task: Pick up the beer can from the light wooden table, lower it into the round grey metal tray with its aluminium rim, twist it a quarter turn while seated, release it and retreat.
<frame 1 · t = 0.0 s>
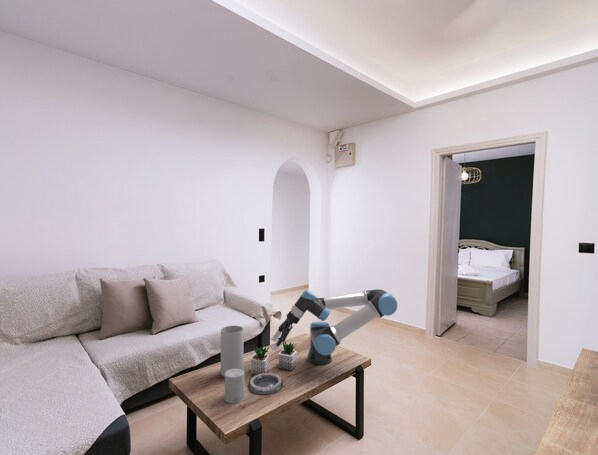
hand: (273, 345, 180), 15 cm above the table, tool tilted 35°, fingers open, 13 cm apart
cylinder vase: (232, 373, 178), on the table
round grey metal tray: (265, 385, 165), on the table
beer can: (234, 397, 154), on the table
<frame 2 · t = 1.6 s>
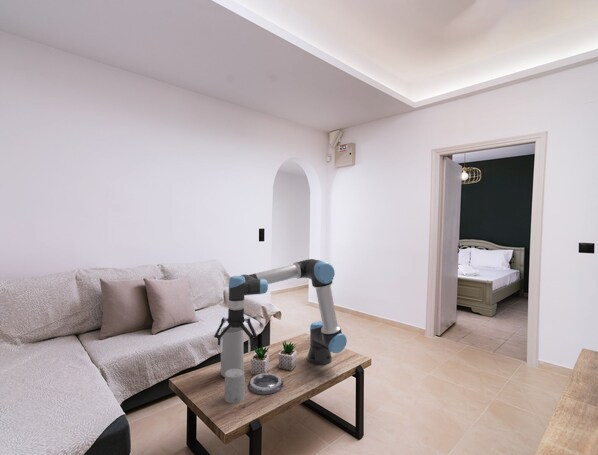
hand: (235, 351, 154), 22 cm above the table, tool pointing down, fingers open, 13 cm apart
nothing on the table moved.
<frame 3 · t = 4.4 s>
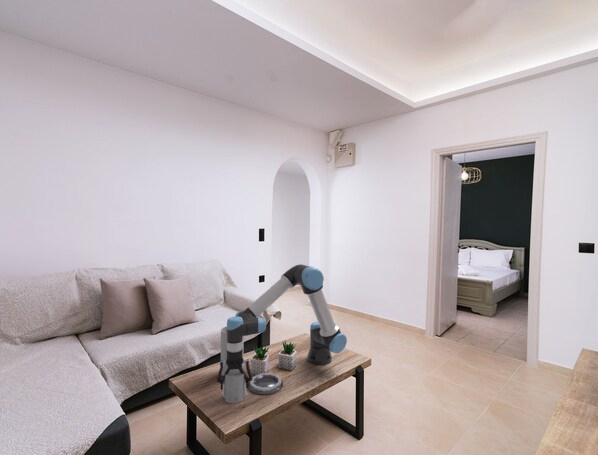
hand: (234, 395, 154), 1 cm above the table, tool pointing down, fingers closed on beer can, 9 cm apart
beer can: (234, 397, 154), on the table, touching gripper
everything else where it was.
when the fingers open (4 cm above the table, at t = 12.8 s): beer can drops 2 cm, resting on round grey metal tray.
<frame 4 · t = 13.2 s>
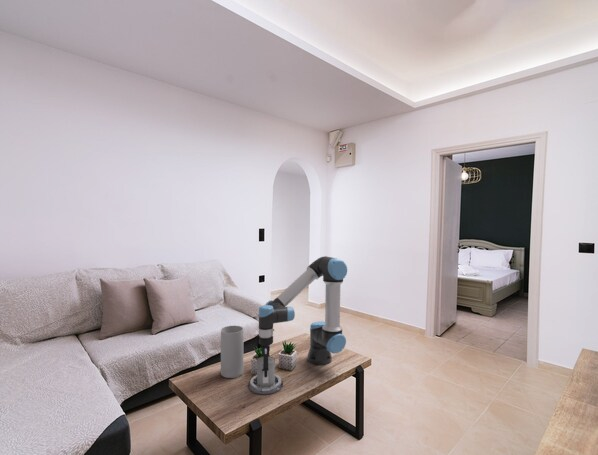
hand: (265, 376, 165), 5 cm above the table, tool pointing down, fingers open, 13 cm apart
beer can: (266, 383, 165), point 1 cm above the table, touching round grey metal tray
everything else where it was.
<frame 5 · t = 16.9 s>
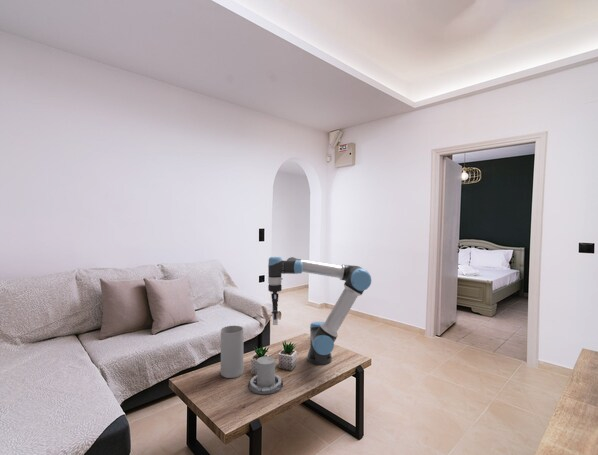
hand: (274, 320, 181), 29 cm above the table, tool pointing down, fingers open, 13 cm apart
nothing on the table moved.
at the end: beer can 0.1 cm from the round grey metal tray (horizontally); beer can point 0.8 cm above the table; beer can tilted 0° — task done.
